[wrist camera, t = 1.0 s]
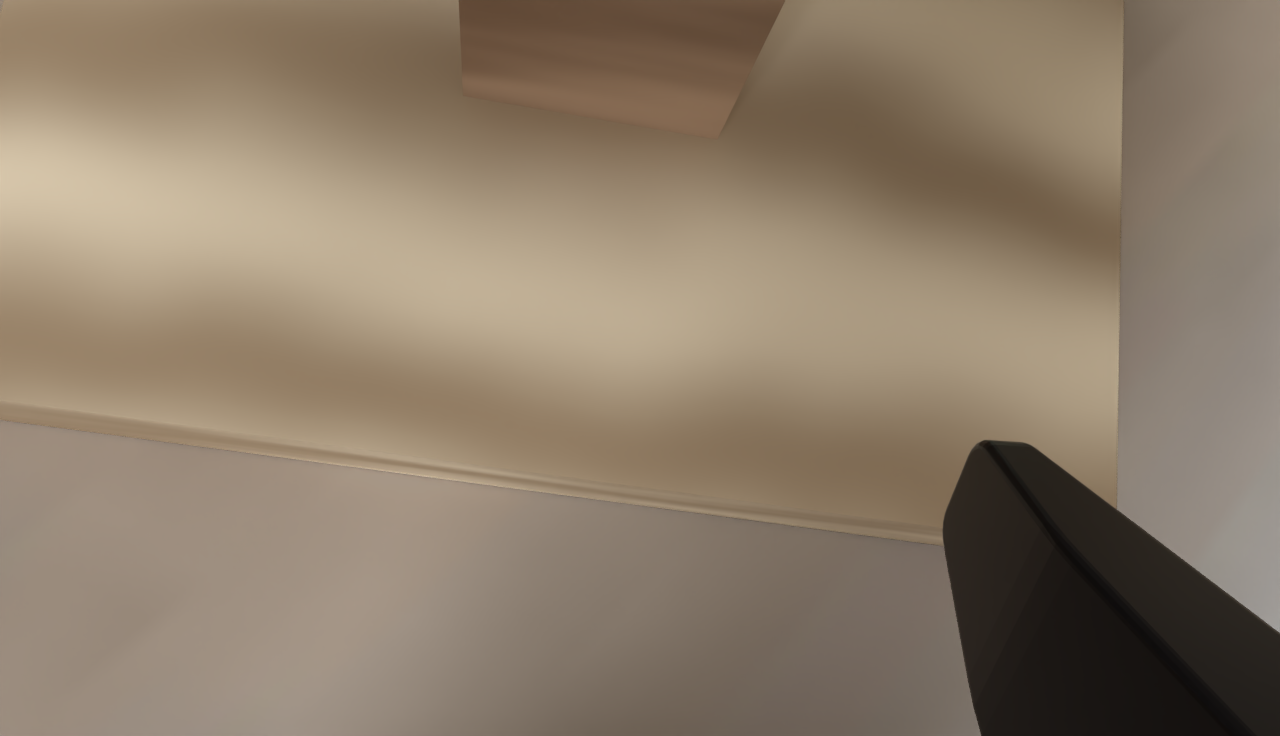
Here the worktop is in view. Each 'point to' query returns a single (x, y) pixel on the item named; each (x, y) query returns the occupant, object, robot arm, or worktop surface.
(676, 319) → the bench plate
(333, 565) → the worktop surface
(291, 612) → the worktop surface
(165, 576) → the worktop surface
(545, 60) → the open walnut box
